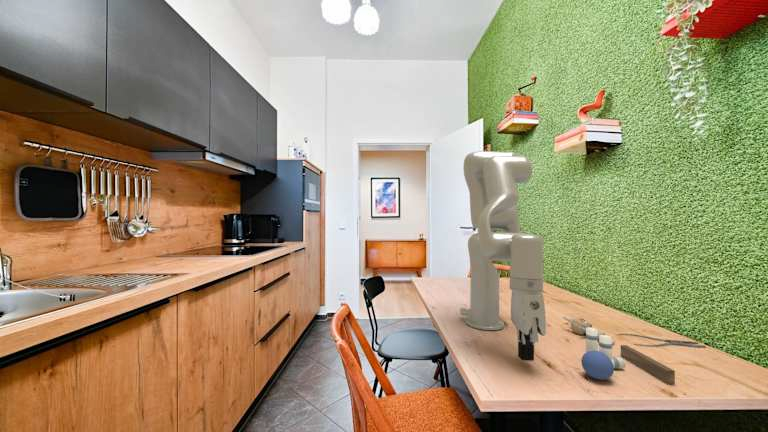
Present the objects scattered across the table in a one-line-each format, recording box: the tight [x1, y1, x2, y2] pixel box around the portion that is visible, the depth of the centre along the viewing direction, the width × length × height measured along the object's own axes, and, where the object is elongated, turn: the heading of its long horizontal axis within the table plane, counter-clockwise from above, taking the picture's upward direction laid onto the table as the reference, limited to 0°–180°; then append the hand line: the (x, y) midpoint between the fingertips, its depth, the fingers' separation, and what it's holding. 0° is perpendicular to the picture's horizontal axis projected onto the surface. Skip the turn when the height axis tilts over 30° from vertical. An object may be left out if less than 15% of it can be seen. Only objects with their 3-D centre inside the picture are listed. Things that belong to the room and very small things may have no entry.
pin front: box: [612, 356, 626, 370], centre depth 73 cm, size 2×2×8 cm
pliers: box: [618, 333, 707, 349], centre depth 91 cm, size 10×1×20 cm
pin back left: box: [585, 327, 599, 353], centre depth 76 cm, size 2×2×8 cm
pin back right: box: [598, 334, 613, 361], centre depth 71 cm, size 2×2×8 cm
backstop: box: [620, 344, 676, 385], centre depth 73 cm, size 2×14×3 cm, turn 177°
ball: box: [581, 350, 615, 381], centre depth 68 cm, size 6×6×6 cm
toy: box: [562, 315, 616, 346], centre depth 94 cm, size 10×5×15 cm
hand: (526, 358), depth 74 cm, fingers closed
